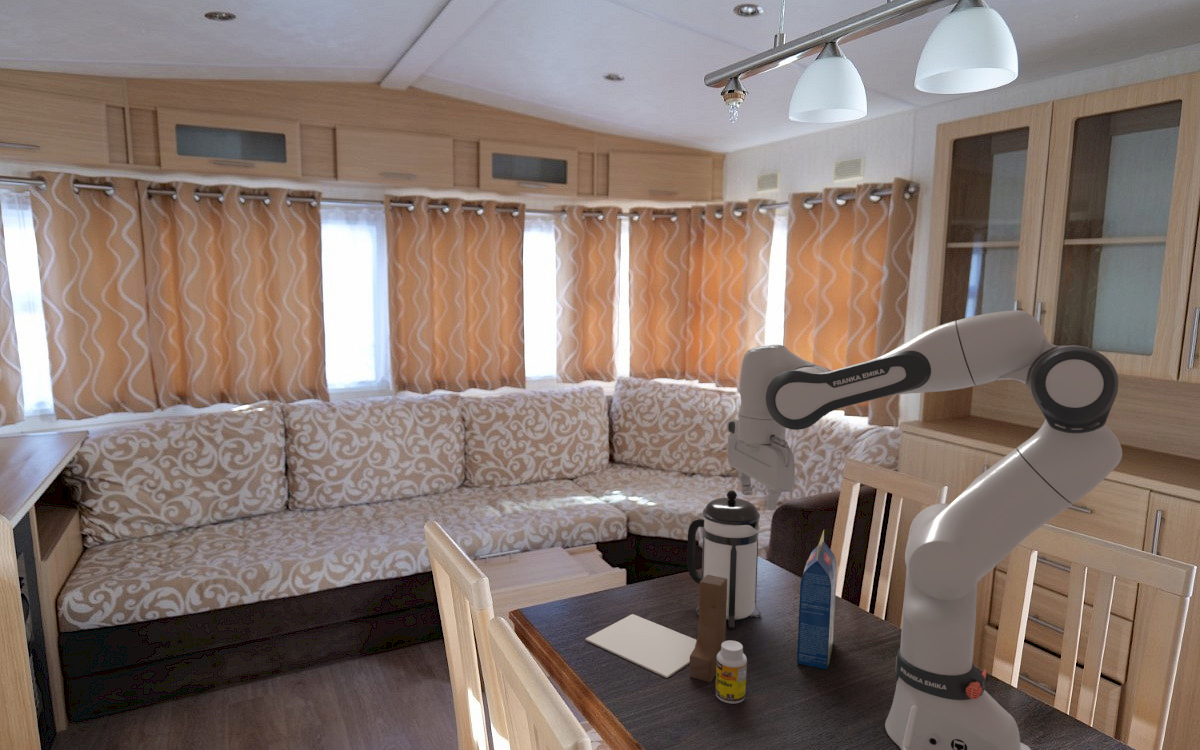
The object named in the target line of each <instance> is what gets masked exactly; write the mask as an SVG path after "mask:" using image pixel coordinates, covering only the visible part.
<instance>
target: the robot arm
mask: <svg viewBox="0 0 1200 750" xmlns="http://www.w3.org/2000/svg"><path fill="white" fill-rule="evenodd" d="M1005 380H1011V381H1017V382H1021V383H1023V384H1024V385H1025V386H1026V387H1027V388H1028V390H1029V394H1030V396H1031V398H1032V400H1033V401H1034V402H1035V403H1036V405H1037V406H1038V408H1039V409H1040V411H1041V413H1042V415H1043V416H1044V418H1045V419H1044V422H1043V423H1042V425H1041V426H1040V428H1039V429H1038V430H1037V431H1036V432H1035V433H1034V434H1033V435H1031V437H1030V438H1028V439H1026V440H1025V441H1024V442H1022V443H1021V444H1020V445H1018V446H1017V447H1015V448H1014V449H1013V450H1012V451H1011V452H1009V453H1008V454H1006V455H1005V456H1004V457H1002V458H1000V460H998V461H997V462H995V463H994V464H993V465H991V467H989V468H988V469H986V470H985V471H984V472H982V473H981V474H980V475H978V476H977V477H976V478H974V480H973V481H972V482H971V483H970V484H969V485H968V486H967V487H966V488H965V489H964V490H963V491H962V492H961V493H960V494H959V495H958V496H957V497H956V498H954V500H953V501H951V503H945V502H944V503H942V502H941V503H934V504H932V505H929V506H927V507H926V508H924V509H922V510H921V511H919V512H918V513H917V514H916V515H915V516H914V518H913V520H912V522H911V524H910V528H909V531H908V537H907V541H906V547H905V553H904V560H905V561H904V562H905V566H906V573H905V583H904V584H905V585H904V593H903V603H902V604H903V605H902V616H901V617H902V618H901V635H900V646H899V648H898V649H897V652H896V653H897V654H896V658H895V671H894V672H895V681H896V685H895V686H896V687H895V691H894V696H893V699H892V705H891V707H890V709H889V712H888V714H887V717H886V720H885V723H884V727H885V731H886V733H887V735H888V736H889V738H890V739H891V740H892V742H894V743H895V744H896V745H897V746H898V747H899V749H900V750H1032V749H1031V748H1030V746H1028V745H1026V744H1025V743H1023V742H1021V736H1020V731H1019V727H1018V724H1017V722H1016V719H1015V718H1014V717H1013V716H1012V714H1010V713H1009V712H1008V711H1007V710H1006V709H1005V708H1004V707H1002V705H1000V704H999V702H997V701H996V699H994V697H992V696H991V695H990V694H989V692H987V691H986V690H985V686H986V685H985V683H986V677H987V670H986V669H983V671H982V672H980V671H979V669H978V668H977V667H976V665H975V664H974V663H973V659H974V649H975V648H974V646H975V632H976V621H977V620H976V619H977V618H976V617H977V599H978V596H977V595H978V583H979V582H980V580H982V579H983V578H984V577H985V576H986V575H987V574H989V573H990V572H991V571H992V570H993V569H994V568H996V567H997V566H998V565H999V564H1000V563H1002V561H1003V560H1004V559H1006V558H1007V556H1008V555H1009V554H1010V553H1012V552H1013V550H1014V549H1015V548H1017V547H1018V546H1019V545H1020V544H1021V543H1022V542H1023V541H1024V540H1025V539H1026V538H1028V537H1029V536H1030V535H1031V534H1033V533H1034V532H1035V531H1037V530H1038V529H1039V528H1041V527H1042V526H1044V525H1045V524H1047V523H1048V522H1049V521H1052V519H1054V518H1056V517H1057V516H1058V515H1060V514H1061V513H1062V512H1064V511H1065V510H1067V509H1068V508H1070V507H1071V506H1072V505H1074V504H1075V503H1077V502H1079V500H1081V499H1083V498H1084V497H1086V495H1087V494H1089V493H1090V492H1091V491H1092V490H1094V489H1095V488H1096V487H1097V486H1098V485H1099V484H1101V483H1102V482H1103V481H1104V480H1105V479H1106V478H1107V476H1109V475H1110V474H1111V473H1112V472H1113V471H1114V469H1115V468H1116V467H1118V465H1119V464H1120V462H1121V461H1122V459H1123V449H1122V446H1121V445H1122V444H1121V443H1120V440H1119V438H1118V437H1117V435H1116V434H1115V433H1114V432H1113V431H1112V429H1110V428H1109V426H1108V425H1107V424H1106V422H1107V420H1108V418H1109V415H1110V412H1111V410H1112V407H1113V405H1114V404H1115V401H1116V398H1117V394H1118V391H1119V376H1118V372H1117V369H1116V368H1115V366H1114V365H1113V363H1112V361H1110V360H1109V359H1108V358H1107V357H1106V356H1105V355H1103V354H1102V353H1101V352H1099V351H1097V350H1095V349H1093V348H1090V347H1087V346H1081V345H1061V344H1057V343H1052V342H1050V341H1049V339H1048V338H1047V336H1046V333H1045V331H1044V328H1043V326H1042V325H1041V324H1040V322H1039V321H1038V319H1037V318H1036V317H1035V316H1033V314H1031V313H1029V312H1028V311H1025V310H1021V309H1020V310H1019V309H1014V310H1005V311H1004V310H1003V311H995V312H988V313H984V314H983V313H982V314H979V315H978V314H977V315H972V316H968V317H965V318H961V319H958V320H953V321H949V322H946V323H943V324H940V325H938V326H935V327H932V328H930V329H928V330H925V331H922V333H919V334H916V335H915V336H914V337H911V338H910V339H908V340H907V341H905V342H903V343H902V344H900V345H899V346H897V347H896V348H894V349H893V350H891V351H889V352H887V353H884V354H883V355H880V356H877V357H876V358H873V359H870V360H867V361H864V362H859V363H855V364H852V365H848V366H845V367H842V368H837V369H833V370H831V369H830V368H828V367H825V366H822V365H819V364H816V363H813V362H810V361H808V360H806V359H803V358H801V357H800V356H798V355H796V354H794V353H793V352H791V351H790V350H789V349H788V348H787V346H785V345H782V344H771V345H763V346H757V347H752V348H751V349H748V350H747V351H746V352H745V354H744V355H743V358H742V363H741V367H740V376H739V388H738V389H739V391H738V392H739V395H740V406H739V409H738V414H737V417H738V418H735V419H731V420H728V421H727V422H726V431H727V432H728V435H727V459H728V460H727V462H728V463H729V466H730V467H732V468H734V469H735V470H737V471H738V479H739V482H740V485H741V488H740V493H741V494H742V495H744V496H752V494H753V489H754V488H753V485H752V481H751V479H753V480H755V481H757V482H758V483H760V484H762V485H763V486H765V487H766V488H767V491H766V492H767V497H766V498H764V501H763V502H764V505H763V506H764V508H765V509H766V510H768V511H775V510H777V509H778V507H777V506H778V500H779V498H780V497H781V495H782V493H786V492H792V491H793V490H794V488H795V485H796V465H795V462H796V461H795V455H794V453H793V450H792V449H791V448H790V446H789V445H788V444H789V443H788V441H787V440H786V430H787V429H789V430H794V431H798V430H805V429H807V428H809V427H811V426H813V425H814V424H816V423H817V422H819V421H820V420H822V418H823V417H826V415H828V414H829V413H831V412H834V411H836V410H839V409H842V408H846V407H849V406H853V405H858V404H862V403H866V402H869V401H870V402H871V401H872V400H877V399H882V398H885V397H889V396H898V395H907V394H921V393H922V394H923V393H934V392H935V393H936V392H939V393H940V392H949V391H954V390H961V389H967V388H972V387H976V386H980V385H985V384H989V383H992V382H993V383H994V382H998V381H1005Z"/></svg>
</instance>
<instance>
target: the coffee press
mask: <svg viewBox="0 0 1200 750" xmlns="http://www.w3.org/2000/svg"><path fill="white" fill-rule="evenodd" d="M702 516H703V518H699V519H695V520H693V521H692V522H691V523H690V525H689V526H688V530H687V542H686V543H687V545H686V546H687V547H686V548H687V549H686V550H687V551H686V564H687V570H688V571H687V572H688V573H689V574H688V575H689V576H690V578H691V579H692V580H693V581H694V582H695V583H697V584H698V585H700V581H701V580H702V579H703V578H704V577H705V576H706V575H712V576H717V577H722V578H726V579H727V607H726V620H727V628H728V631H729V630H730V631H732V630H733V631H734V630H736V624H735V623H736V620H741V619H742V620H743V619H745V618H748V617H749V616H753V617H755V618H756V619H760V617H761V616H762V615H761V611H760V610H759V608H758V607H757V587H758V584H757V582H758V580H757V579H758V559H759V557H758V556H759V555H758V554H759V534H760V533H761V531H760V530H761V529H760V518H761V514H760V512H759V511H758V508H757V507H756V506H755V504H753V503H751V502H750V501H748V500H746V499H741V498H738V495H737V492H736V491H735V490H732V489H731V490H729V491H727V493H726V497H719V498H716V499H713V500H711V501H709V502H708V503H707V504H706V506H705V508H704V509H703V510H702ZM698 528H702V529H703V530H702V562H701V563H702V564H701V575H700V574H699V572H698V571H697V569H696V535H697V531H698ZM755 608H756V610H757V612H758V614H755V613H754V611H755ZM695 612H696V613H695V614H696V615H697V616H698V617H699V605H698V606H697V607H696V608H695Z"/></svg>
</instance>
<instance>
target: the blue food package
mask: <svg viewBox="0 0 1200 750" xmlns="http://www.w3.org/2000/svg"><path fill="white" fill-rule="evenodd" d="M824 539H825V529H823V531H822V533H821V537H820V539H819V542H818V544H817V546H816V547H815V548H814V549H812V551H811V553H810V555H809V557H808V559H807V560H806V564H805V566H804V569H803V573H802V576H801V580H800V585H799V586H800V587H799V606H798V607H799V609H798V630H797V631H798V632H797V651H796V653H797V654H796V655H797V656H796V663H797V664H800V665H804V666H808V667H813V668H818V669H824V670H827V669H828V666H829V665H830V659H831V656H832V651H833V643H834V631H835V629H834V627H835V613H836V612H835V608H836V592H837V591H836V590H837V569H838V568H837V566H838V565H837V559H836V557H835V554H834V553H833V551H832V550H831V549H830V548H829V546H828V545H827V544H826V542H825V540H824Z"/></svg>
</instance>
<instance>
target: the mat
mask: <svg viewBox="0 0 1200 750" xmlns="http://www.w3.org/2000/svg"><path fill="white" fill-rule="evenodd" d="M584 640H585V641H586V642H588V643H590V644H592V645H594V646H597V647H599V648H601V649H603V650H606V651H608V652H610V653H612V654H613V655H616V656H618V657H620V658H623V659H625V660H626V661H629V662H631V663H634V664H635V665H637V666H640V667H641V668H644V669H646V670H648V671H651V672H653V673H655V674H656V675H659V676H662V677H664V678H666V679H668V678H669V677H671V676H672V675H674V674H676V673H677V672H679V671H680V670H682V669H684V668H685V667H686V666H688V665H690V655H691V653H692V652H693V650H694V648H695V645H696V641H697V639H696V638H693V637H691V636H688V635H687V634H686V635H685V634H684V633H683V634H682V633H681V632H678V631H676V630H673V629H671V628H668V627H665V626H663V625H660V624H658V623H656V622H654V621H651V620H649V619H645V618H644V617H641V616H639V615H636V614H634V613H632V614H629V615H627V616H625V617H624V618H622V619H620V620H618V621H616V622H614V623H613V624H610V625H608V626H607V627H605V628H603V629H601V630H599V631H597V632H595V633H593V634H591V635H589V636H587V637H586V638H585V639H584Z"/></svg>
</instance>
